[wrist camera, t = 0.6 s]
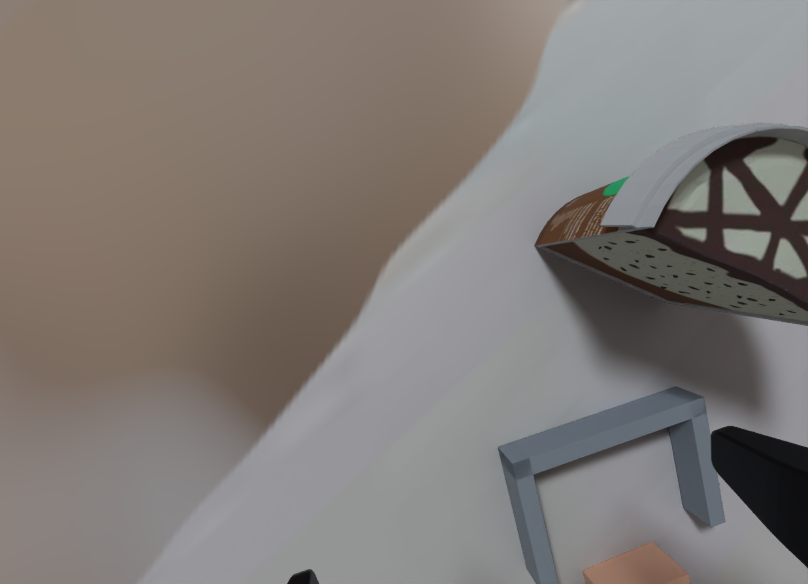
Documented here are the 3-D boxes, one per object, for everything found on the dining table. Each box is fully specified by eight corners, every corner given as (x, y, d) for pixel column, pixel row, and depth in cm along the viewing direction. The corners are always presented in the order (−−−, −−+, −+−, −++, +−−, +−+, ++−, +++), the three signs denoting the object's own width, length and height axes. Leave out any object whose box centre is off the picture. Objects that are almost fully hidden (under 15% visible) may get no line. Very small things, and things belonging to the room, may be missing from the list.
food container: (722, 217, 26) (962, 193, 16) (685, 311, 26) (901, 344, 16) (551, 133, 24) (708, 44, 14) (511, 236, 24) (639, 220, 14)
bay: (696, 502, 27) (725, 521, 25) (526, 568, 25) (543, 594, 23) (676, 386, 26) (703, 397, 24) (497, 447, 24) (512, 463, 23)
